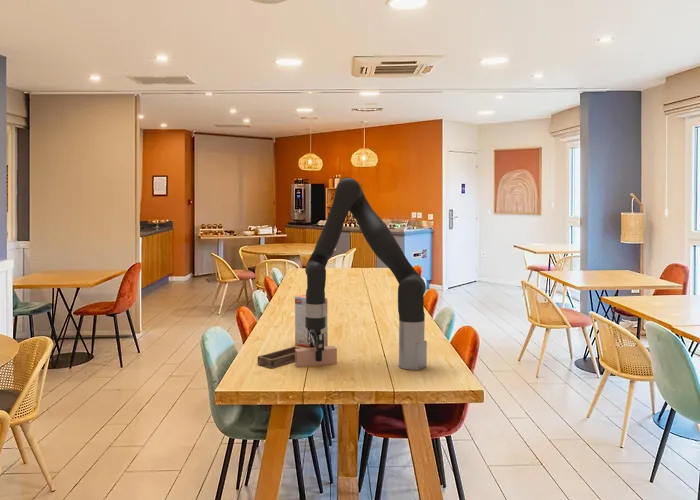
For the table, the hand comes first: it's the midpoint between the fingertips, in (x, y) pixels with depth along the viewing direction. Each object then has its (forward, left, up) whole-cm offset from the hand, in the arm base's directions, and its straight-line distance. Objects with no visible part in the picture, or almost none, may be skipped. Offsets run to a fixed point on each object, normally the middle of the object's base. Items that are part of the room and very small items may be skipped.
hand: (315, 358), depth 215 cm
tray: (+12, +5, -2) cm, 13 cm away
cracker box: (+19, -17, -2) cm, 25 cm away
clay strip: (0, 0, -2) cm, 2 cm away
